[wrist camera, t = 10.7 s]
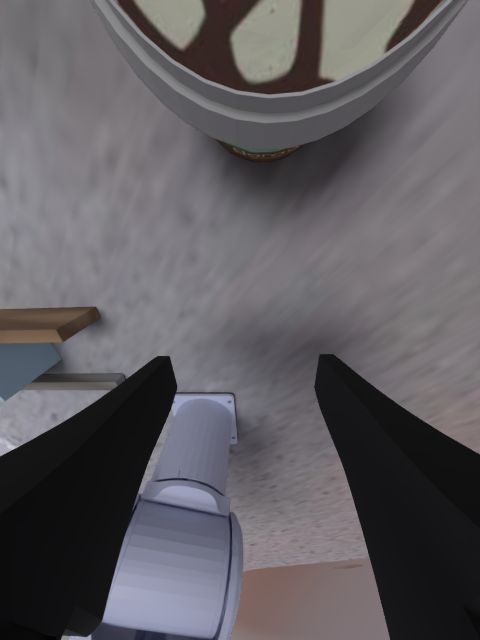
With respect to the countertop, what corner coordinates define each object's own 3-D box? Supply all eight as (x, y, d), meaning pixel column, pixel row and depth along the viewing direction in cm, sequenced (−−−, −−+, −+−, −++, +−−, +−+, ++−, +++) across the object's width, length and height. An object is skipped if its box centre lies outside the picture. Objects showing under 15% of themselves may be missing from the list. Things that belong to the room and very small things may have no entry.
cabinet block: (64, 364, 24) (9, 407, 18) (25, 364, 24) (-40, 407, 18) (39, 321, 21) (-33, 356, 16) (-5, 322, 21) (-90, 357, 16)
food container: (203, 206, 15) (139, 190, 6) (169, 100, 13) (-21, -178, 4) (375, 147, 13) (631, 3, 4) (377, 5, 11) (1022, -1074, 2)
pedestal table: (125, 381, 24) (101, 413, 20) (4, 381, 25) (-43, 412, 21) (95, 306, 20) (55, 329, 16) (-51, 310, 21) (-124, 333, 17)
